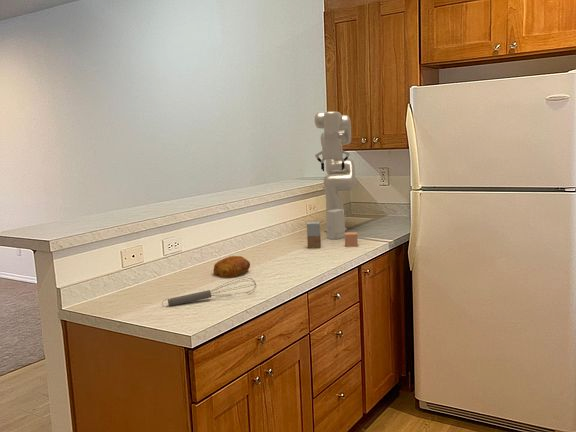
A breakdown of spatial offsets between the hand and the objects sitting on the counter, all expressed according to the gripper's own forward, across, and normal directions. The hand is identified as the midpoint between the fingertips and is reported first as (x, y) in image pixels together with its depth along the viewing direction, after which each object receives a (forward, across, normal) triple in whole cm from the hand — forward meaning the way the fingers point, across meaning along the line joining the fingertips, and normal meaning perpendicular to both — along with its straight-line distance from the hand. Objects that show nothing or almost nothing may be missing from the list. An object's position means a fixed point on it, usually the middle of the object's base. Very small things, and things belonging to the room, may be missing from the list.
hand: (332, 170), depth 292 cm
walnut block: (+36, +10, +17) cm, 41 cm away
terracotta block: (+36, -8, +14) cm, 40 cm away
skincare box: (+36, 0, -4) cm, 36 cm away
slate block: (+30, +10, +17) cm, 36 cm away
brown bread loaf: (+37, +40, +65) cm, 85 cm away
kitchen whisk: (+38, +39, +102) cm, 115 cm away
